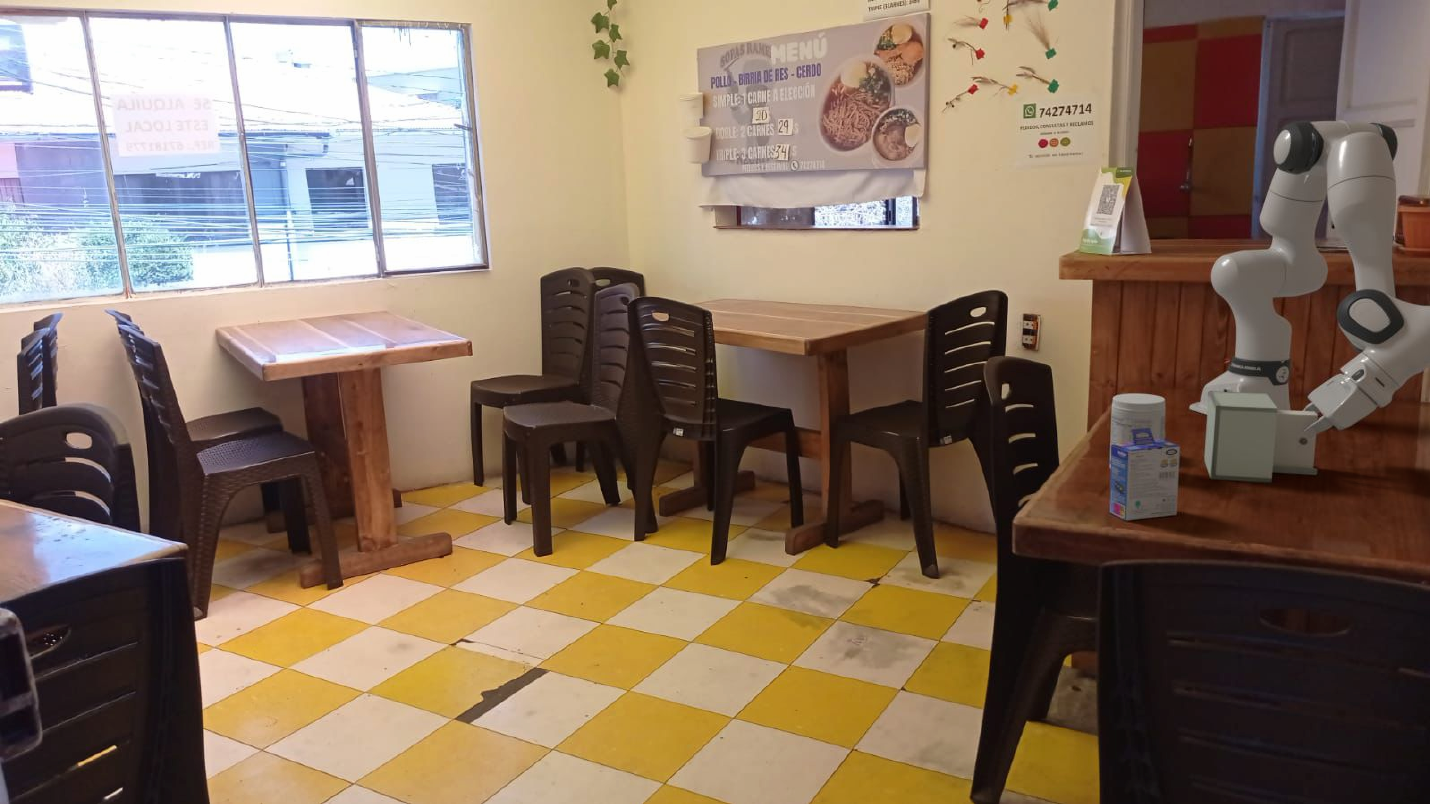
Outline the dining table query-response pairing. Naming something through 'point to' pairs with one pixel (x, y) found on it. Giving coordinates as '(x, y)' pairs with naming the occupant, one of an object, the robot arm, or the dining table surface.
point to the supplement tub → (1136, 417)
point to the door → (1294, 439)
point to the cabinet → (1243, 438)
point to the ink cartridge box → (1144, 477)
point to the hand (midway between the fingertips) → (1300, 429)
